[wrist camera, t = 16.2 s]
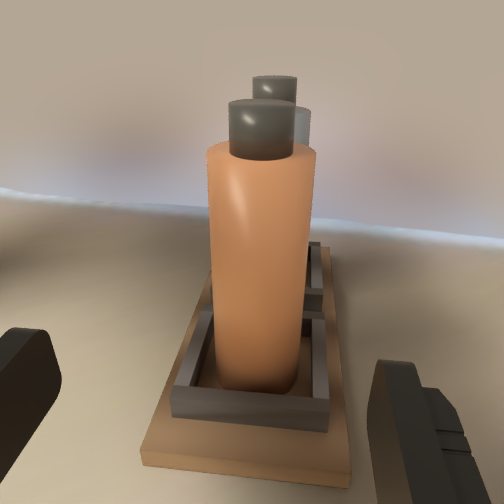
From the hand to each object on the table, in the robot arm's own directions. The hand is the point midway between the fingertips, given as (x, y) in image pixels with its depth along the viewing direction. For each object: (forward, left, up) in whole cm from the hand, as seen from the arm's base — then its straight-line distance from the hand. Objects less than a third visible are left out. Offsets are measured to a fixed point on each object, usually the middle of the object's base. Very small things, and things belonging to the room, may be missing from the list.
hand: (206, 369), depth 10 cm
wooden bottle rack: (-7, +14, -12) cm, 20 cm away
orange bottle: (-5, +10, -11) cm, 15 cm away
